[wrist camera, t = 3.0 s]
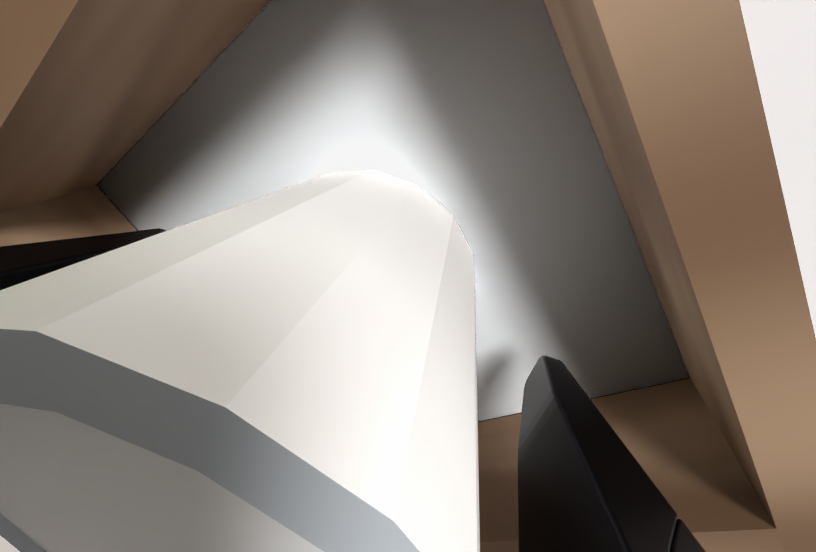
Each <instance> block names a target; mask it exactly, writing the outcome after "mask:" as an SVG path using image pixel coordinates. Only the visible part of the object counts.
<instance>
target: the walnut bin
mask: <svg viewBox="0 0 816 552" xmlns="http://www.w3.org/2000/svg"><path fill="white" fill-rule="evenodd" d="M270 1H271V0H0V247H1V246H9V245H18V244H27V243H36V242H44V241H53V240H62V239H71V238H80V237H88V236H97V235H106V234H115V233H123V232H132V231H137V230H136V229H135V228H134V226H133V225H132V224H131V223H130V222H129V221H128V220H127V219H126V218H125V216H124V215H123V214H122V213H121V212H120V211H119V210H118V209H117V208H116V206H115V205H114V204H113V203H112V202H111V201H110V200H109V199H108V198H107V197H106V195H105V194H104V193H103V192H102V191H101V190H100V189H99V188H98V187H97V184H98V183H99V182H100V181H101V180H102V179H103V178H104V177H105V176H106V175H107V173H108V172H109V171H110V170H111V169H112V168H113V167H114V166H115V165H116V164H117V163H118V162H119V161H120V160H121V159H122V158H123V157H124V156H125V154H126V153H127V152H128V151H129V150H130V149H131V148H132V147H133V146H134V145H135V144H136V143H137V142H138V141H139V140H140V139H141V138H142V136H143V135H144V134H145V133H146V132H147V131H148V130H149V129H150V128H151V127H152V126H153V125H154V124H155V123H156V122H157V121H158V120H159V118H160V117H161V116H162V115H163V114H164V113H165V112H166V111H167V110H168V109H169V108H170V107H171V106H172V105H173V104H174V103H175V102H176V100H177V99H178V98H179V97H180V96H181V95H182V94H183V93H184V92H185V91H186V90H187V89H188V88H189V87H190V86H191V85H192V84H193V83H194V81H195V80H196V79H197V78H198V77H199V76H200V75H201V74H202V73H203V72H204V71H205V70H206V69H207V68H208V67H209V66H210V65H211V63H212V62H213V61H214V60H215V59H216V58H217V57H218V56H219V55H220V54H221V53H222V52H223V51H224V50H225V49H226V48H227V47H228V45H229V44H230V43H231V42H232V41H233V40H234V39H235V38H236V37H237V36H238V35H239V34H240V33H241V32H242V31H243V30H244V29H245V27H246V26H247V25H248V24H249V23H250V22H251V21H252V20H253V19H254V18H255V17H256V16H257V15H258V14H259V13H260V12H261V11H262V10H263V8H264V7H265V6H266V5H267V4H268V3H269V2H270ZM543 1H544V4H545V7H546V9H547V12H548V14H549V17H550V19H551V22H552V25H553V27H554V30H555V32H556V35H557V37H558V40H559V43H560V45H561V48H562V50H563V53H564V55H565V58H566V60H567V63H568V66H569V68H570V71H571V73H572V76H573V78H574V81H575V84H576V86H577V89H578V91H579V94H580V96H581V99H582V102H583V104H584V107H585V109H586V112H587V114H588V117H589V119H590V122H591V125H592V127H593V130H594V132H595V135H596V137H597V140H598V143H599V145H600V148H601V150H602V153H603V155H604V158H605V161H606V163H607V166H608V168H609V171H610V173H611V176H612V178H613V181H614V184H615V186H616V189H617V191H618V194H619V196H620V199H621V202H622V204H623V207H624V209H625V212H626V214H627V217H628V220H629V222H630V225H631V227H632V230H633V232H634V235H635V237H636V240H637V243H638V245H639V248H640V250H641V253H642V255H643V258H644V261H645V263H646V266H647V268H648V271H649V273H650V276H651V279H652V281H653V284H654V286H655V289H656V291H657V294H658V296H659V299H660V302H661V304H662V307H663V309H664V312H665V314H666V317H667V320H668V322H669V325H670V327H671V330H672V332H673V335H674V338H675V340H676V343H677V345H678V348H679V350H680V353H681V355H682V358H683V361H684V363H685V366H686V368H687V371H688V373H689V376H690V379H686V380H681V381H676V382H671V383H666V384H661V385H657V386H652V387H647V388H642V389H637V390H632V391H627V392H622V393H618V394H613V395H608V396H603V397H598V398H593V399H591V401H592V402H593V403H594V405H595V406H596V407H597V409H598V410H599V411H600V413H601V414H602V415H603V417H604V418H605V419H606V421H607V422H608V423H609V425H610V426H611V427H612V429H613V430H614V431H615V432H616V434H617V435H618V436H619V438H620V439H621V440H622V442H623V443H624V444H625V446H626V447H627V448H628V450H629V451H630V452H631V454H632V455H633V456H634V458H635V459H636V460H637V462H638V463H639V464H640V466H641V467H642V468H643V470H644V471H645V472H646V473H647V475H648V476H649V477H650V479H651V480H652V481H653V483H654V484H655V485H656V487H657V488H658V489H659V491H660V492H661V493H662V495H663V496H664V497H665V499H666V500H667V501H668V503H669V504H670V505H671V507H672V508H673V509H674V511H675V512H676V513H677V515H678V518H677V519H681V520H682V521H683V522H684V524H685V525H686V526H687V527H688V529H689V530H690V531H691V533H692V534H693V535H694V537H695V538H696V539H697V541H698V542H699V543H700V545H701V546H702V547H703V548H704V550H705V551H706V552H816V338H815V334H814V330H813V325H812V321H811V316H810V312H809V308H808V303H807V299H806V294H805V290H804V285H803V281H802V277H801V272H800V268H799V263H798V259H797V254H796V250H795V246H794V241H793V237H792V232H791V228H790V223H789V219H788V215H787V210H786V206H785V201H784V197H783V193H782V188H781V184H780V179H779V175H778V170H777V166H776V162H775V157H774V153H773V148H772V144H771V139H770V135H769V131H768V126H767V122H766V117H765V113H764V108H763V104H762V100H761V95H760V91H759V86H758V82H757V77H756V73H755V69H754V64H753V60H752V55H751V51H750V47H749V42H748V38H747V33H746V29H745V24H744V20H743V16H742V11H741V7H740V2H739V0H543ZM521 414H522V413H520V414H515V415H510V416H506V417H501V418H496V419H491V420H486V421H481V422H478V467H479V521H480V552H519V536H518V442H519V433H520V423H521Z"/></svg>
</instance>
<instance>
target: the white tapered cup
mask: <svg viewBox="0 0 816 552" xmlns="http://www.w3.org/2000/svg"><path fill="white" fill-rule="evenodd" d="M0 535H1V536H2V537H3V538H5V539H6V540H7V541H8V542H9V543H11V544H12V545H13V546H14V547H15V548H17V549H18V550H19V551H20V552H480V521H479V467H478V412H477V358H476V303H475V274H474V254H473V252H472V250H471V248H470V247H469V245H468V243H467V241H466V239H465V237H464V235H463V233H462V231H461V229H460V227H459V225H458V223H457V221H456V219H455V217H454V215H452V214H451V213H450V212H449V211H448V210H447V209H445V208H444V207H443V206H442V205H441V204H440V203H438V202H437V201H436V200H435V199H434V198H433V197H431V196H430V195H429V194H428V193H427V192H426V191H424V190H423V189H422V188H421V187H420V186H419V185H417V184H414V183H411V182H409V181H406V180H403V179H400V178H397V177H394V176H391V175H388V174H385V173H382V172H380V171H377V170H374V169H369V170H356V171H343V172H330V173H327V174H324V175H321V176H319V177H316V178H313V179H310V180H307V181H305V182H302V183H299V184H296V185H294V186H291V187H288V188H285V189H282V190H280V191H277V192H274V193H271V194H268V195H266V196H263V197H260V198H257V199H254V200H252V201H249V202H246V203H243V204H240V205H238V206H235V207H232V208H229V209H226V210H224V211H221V212H218V213H215V214H212V215H210V216H207V217H204V218H201V219H198V220H196V221H193V222H190V223H187V224H184V225H182V226H179V227H176V228H173V229H171V230H168V231H165V232H162V233H159V234H157V235H154V236H151V237H148V238H145V239H143V240H140V241H137V242H134V243H131V244H129V245H126V246H123V247H120V248H117V249H115V250H112V251H109V252H106V253H103V254H101V255H98V256H95V257H92V258H89V259H87V260H84V261H81V262H78V263H75V264H73V265H70V266H67V267H64V268H61V269H59V270H56V271H53V272H50V273H48V274H45V275H42V276H39V277H36V278H34V279H31V280H28V281H25V282H22V283H20V284H17V285H14V286H11V287H8V288H6V289H3V290H0Z"/></svg>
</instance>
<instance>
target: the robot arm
mask: <svg viewBox="0 0 816 552" xmlns="http://www.w3.org/2000/svg"><path fill="white" fill-rule="evenodd" d="M165 231H167V230H164V229H150V230H141V231H132V232H123V233H115V234H106V235H97V236H88V237H80V238H71V239H62V240H53V241H44V242H36V243H27V244H18V245H9V246H1V247H0V290H3V289H6V288H8V287H11V286H14V285H17V284H20V283H22V282H25V281H28V280H31V279H34V278H36V277H39V276H42V275H45V274H48V273H50V272H53V271H56V270H59V269H61V268H64V267H67V266H70V265H73V264H75V263H78V262H81V261H84V260H87V259H89V258H92V257H95V256H98V255H101V254H103V253H106V252H109V251H112V250H115V249H117V248H120V247H123V246H126V245H129V244H131V243H134V242H137V241H140V240H143V239H145V238H148V237H151V236H154V235H157V234H159V233H162V232H165ZM677 518H678V515H677V513H676V512H675V511H674V509H673V508H672V507H671V505H670V504H669V503H668V501H667V500H666V499H665V497H664V496H663V495H662V493H661V492H660V491H659V489H658V488H657V487H656V485H655V484H654V483H653V481H652V480H651V479H650V477H649V476H648V475H647V473H646V472H645V471H644V470H643V468H642V467H641V466H640V464H639V463H638V462H637V460H636V459H635V458H634V456H633V455H632V454H631V452H630V451H629V450H628V448H627V447H626V446H625V444H624V443H623V442H622V440H621V439H620V438H619V436H618V435H617V434H616V432H615V431H614V430H613V429H612V427H611V426H610V425H609V423H608V422H607V421H606V419H605V418H604V417H603V415H602V414H601V413H600V411H599V410H598V409H597V407H596V406H595V405H594V403H593V402H592V401H591V399H590V398H589V397H588V395H587V394H586V393H585V391H584V390H583V389H582V387H581V386H580V385H579V384H578V382H577V381H576V380H575V378H574V377H573V376H572V374H571V373H570V372H569V370H568V369H567V368H566V366H565V365H564V364H563V363H562V362H561V361H560V360H558V359H555V358H551V357H548V356H545V355H544V356H541V357H540V358H539V360H538V361H537V363H536V365H535V367H534V368H533V370H532V372H531V373H530V375H529V377H528V379H527V381H526V384H525V387H524V395H523V404H522V414H521V423H520V433H519V442H518V536H519V552H706V551H705V550H704V548H703V547H702V546H701V545H700V543H699V542H698V541H697V539H696V538H695V537H694V535H693V534H692V533H691V531H690V530H689V529H688V527H687V526H686V525H685V524H684V522H683V521H682V520H681V519H677Z"/></svg>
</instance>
